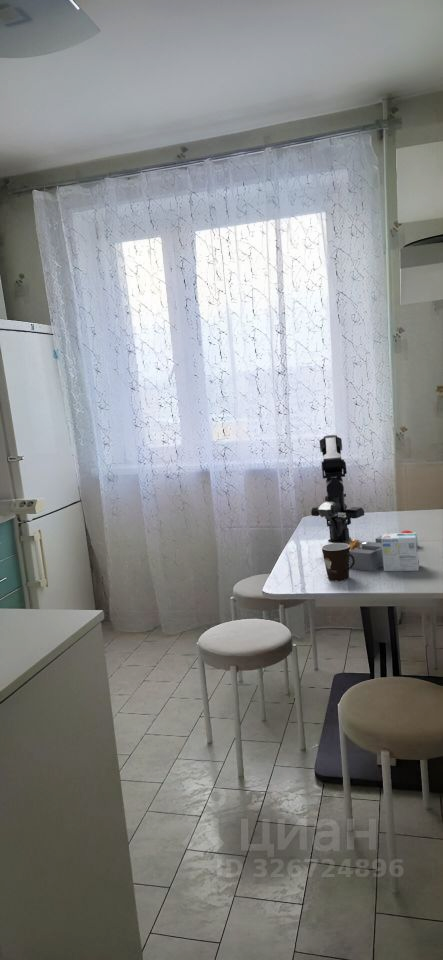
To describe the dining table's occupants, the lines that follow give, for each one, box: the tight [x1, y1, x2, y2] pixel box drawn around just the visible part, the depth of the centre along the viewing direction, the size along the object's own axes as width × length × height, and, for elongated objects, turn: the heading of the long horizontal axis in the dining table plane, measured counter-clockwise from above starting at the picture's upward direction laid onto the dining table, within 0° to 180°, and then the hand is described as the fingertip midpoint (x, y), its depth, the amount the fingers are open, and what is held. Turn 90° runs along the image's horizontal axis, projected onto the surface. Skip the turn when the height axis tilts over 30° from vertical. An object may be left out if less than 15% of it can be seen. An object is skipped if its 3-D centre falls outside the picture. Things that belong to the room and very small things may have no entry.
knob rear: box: [349, 539, 369, 550], centre depth 219 cm, size 9×4×4 cm, turn 47°
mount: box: [349, 535, 383, 572], centre depth 211 cm, size 8×21×6 cm, turn 137°
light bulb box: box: [381, 532, 420, 572], centre depth 200 cm, size 11×7×11 cm, turn 71°
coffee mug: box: [321, 542, 355, 582], centre depth 196 cm, size 12×9×10 cm
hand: (339, 535), depth 225 cm, fingers closed
